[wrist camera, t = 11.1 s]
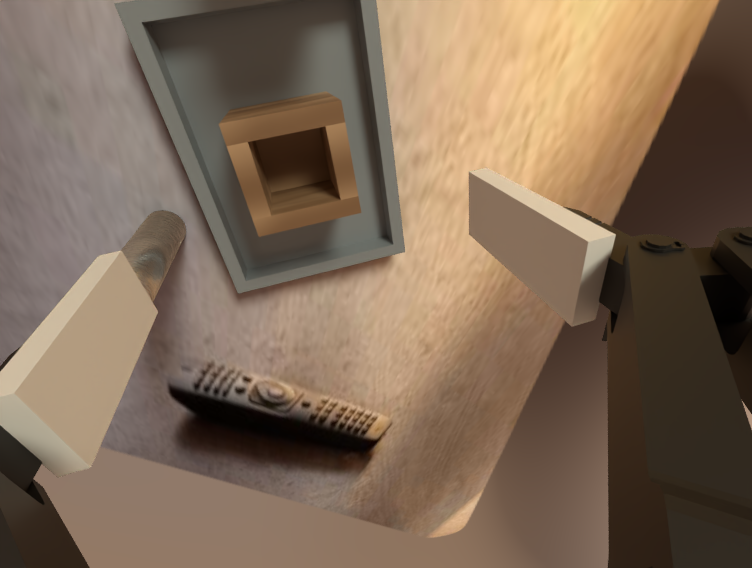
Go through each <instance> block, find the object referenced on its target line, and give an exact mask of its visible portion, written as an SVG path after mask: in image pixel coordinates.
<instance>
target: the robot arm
mask: <svg viewBox="0 0 752 568" xmlns="http://www.w3.org/2000/svg"><path fill="white" fill-rule="evenodd" d="M469 235H471V236H472V237H473V238H474V239H475V240H476V241H477V242H478V243H479V244H481V245H482V246H483V247H484V248H485V249H486V250H487V251H488V252H489V253H491V254H492V255H493V256H494V257H495V258H496V259H497V260H498V261H499V262H501V263H502V264H503V265H504V266H505V267H506V268H507V269H508V270H509V271H511V272H512V273H513V274H514V275H515V276H516V277H517V278H518V279H520V280H521V281H522V282H523V283H524V284H525V285H526V286H527V287H528V288H530V289H531V290H532V291H533V292H534V293H535V294H536V295H537V296H538V297H540V298H541V299H542V300H543V301H544V302H545V303H546V304H547V305H548V306H550V307H551V308H552V309H553V310H554V311H555V312H556V313H557V314H558V315H560V316H561V317H562V318H563V319H564V320H565V321H566V322H567V323H569V324H570V325H571V326H575V325H578V324H582V323H585V322H589V321H592V320H595V319H596V315H597V310H598V307H599V303H602V304H603V305H604V306H606V307H607V308H608V309H610V312H609V316H608V320H607V323H606V327H605V331H604V335H603V339H602V341H607V349H608V351H607V352H608V353H607V356H608V357H607V359H608V494H609V495H608V496H609V497H608V498H609V499H608V500H609V501H608V502H609V503H608V505H609V560H608V568H752V430H751V427H750V424H749V421H748V418H747V415H746V412H745V409H744V406H743V403H742V401H743V402H744V404H745V405H746V407H747V408H748V410H749V411H750V412H751V414H752V227H746V228H743V227H742V228H741V227H736V228H727V229H724V230H722V231H720V232H719V233H718V235H717V237H716V240H715V242H714V245H713V247H703V248H689V247H688V245H687V244H686V243H684V242H682V241H680V240H678V239H675V238H672V237H668V236H663V235H640V236H635V237H631V236H629V235H627V234H625V233H623V232H621V231H619V230H617V229H615V228H613V227H611V226H609V225H607V224H605V223H602V222H601V221H599V220H597V219H595V218H592V217H591V216H589V215H587V214H585V213H583V212H581V211H579V210H575V209H571V208H567V207H562V206H560V205H558V204H556V203H554V202H552V201H550V200H548V199H546V198H544V197H542V196H540V195H539V194H537V193H535V192H533V191H531V190H529V189H527V188H525V187H523V186H521V185H519V184H517V183H515V182H513V181H512V180H510V179H508V178H506V177H504V176H502V175H500V174H498V173H496V172H494V171H492V170H490V169H488V168H483V169H479V170H474V171H470V172H469ZM157 314H158V311H157V309H156V307H155V306H154V304H153V302H152V301H151V299H150V297H149V295H148V294H147V292H146V290H145V289H144V287H143V285H142V284H141V282H140V280H139V279H138V277H137V275H136V274H135V272H134V270H133V269H132V267H131V265H130V264H129V262H128V260H127V259H126V257H125V255H124V254H123V252H122V251H118V252H113V253H109V254H104V255H100V256H98V257H97V258H96V260H95V261H94V262H93V263H92V264H91V265H90V267H89V268H88V269H87V270H86V271H85V273H84V274H83V275H82V276H81V277H80V278H79V280H78V281H77V282H76V283H75V284H74V286H73V287H72V288H71V289H70V290H69V291H68V293H67V294H66V295H65V296H64V297H63V298H62V300H61V301H60V302H59V303H58V304H57V306H56V307H55V308H54V309H53V310H52V311H51V313H50V314H49V315H48V316H47V317H46V319H45V320H44V321H43V322H42V323H41V324H40V326H39V327H38V328H37V329H36V330H35V331H34V333H33V334H32V335H31V336H30V337H29V339H28V340H27V341H26V342H25V343H24V344H23V345H22V346H21V347H20V348H18V349H17V350H16V351H14V352H13V353H12V354H11V355H10V356H9V357H8V358H7V359H6V360H5V361H4V362H3V364H2V365H1V366H0V568H89V566H88V564H87V562H86V561H85V559H84V557H83V556H82V554H81V552H80V550H79V549H78V547H77V545H76V544H75V542H74V540H73V538H72V536H71V535H70V533H69V531H68V530H67V528H66V526H65V524H64V523H63V521H62V519H61V518H60V516H59V514H58V512H57V511H56V509H55V507H54V505H53V504H52V502H51V500H50V498H49V497H48V495H47V493H46V492H45V490H44V488H43V487H42V486H41V485H40V484H38V483H37V482H36V481H35V480H34V479H33V478H34V476H35V474H36V473H37V471H38V469H39V467H40V466H41V464H43V465H44V466H45V467H46V468H47V469H48V470H50V471H51V472H52V473H53V474H54V475H55V476H56V477H61V476H64V475H67V474H71V473H74V472H77V471H81V470H85V469H88V468H91V466H92V464H93V461H94V459H95V457H96V455H97V452H98V450H99V448H100V446H101V443H102V441H103V439H104V436H105V434H106V432H107V429H108V427H109V425H110V422H111V420H112V418H113V415H114V413H115V411H116V408H117V406H118V404H119V402H120V399H121V397H122V395H123V392H124V390H125V388H126V385H127V383H128V381H129V378H130V376H131V374H132V371H133V369H134V367H135V365H136V362H137V360H138V358H139V355H140V353H141V351H142V348H143V346H144V344H145V341H146V339H147V337H148V334H149V332H150V330H151V327H152V325H153V323H154V321H155V318H156V316H157ZM741 399H742V400H741Z"/></svg>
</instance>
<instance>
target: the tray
mask: <svg viewBox="0 0 752 568" xmlns="http://www.w3.org/2000/svg"><path fill="white" fill-rule="evenodd" d="M115 7H116V9H117V11H118V14H119V16H120V18H121V21H122V23H123V25H124V28H125V30H126V32H127V35H128V37H129V39H130V42H131V44H132V46H133V49H134V51H135V53H136V56H137V58H138V60H139V63H140V65H141V67H142V70H143V72H144V74H145V77H146V79H147V81H148V84H149V86H150V88H151V91H152V93H153V95H154V98H155V100H156V103H157V105H158V107H159V110H160V112H161V114H162V117H163V119H164V121H165V124H166V126H167V128H168V131H169V133H170V135H171V138H172V140H173V142H174V145H175V147H176V149H177V152H178V154H179V156H180V159H181V161H182V163H183V166H184V168H185V170H186V173H187V175H188V177H189V180H190V182H191V184H192V187H193V189H194V191H195V194H196V196H197V198H198V201H199V203H200V206H201V208H202V210H203V213H204V215H205V217H206V220H207V222H208V224H209V227H210V229H211V231H212V234H213V236H214V238H215V241H216V243H217V245H218V248H219V250H220V252H221V255H222V257H223V259H224V262H225V264H226V266H227V269H228V271H229V273H230V276H231V278H232V280H233V283H234V285H235V287H236V290H237V292H238V294H239V293H243V292H247V291H251V290H255V289H259V288H263V287H267V286H271V285H275V284H279V283H283V282H287V281H291V280H295V279H299V278H303V277H307V276H311V275H315V274H319V273H323V272H327V271H331V270H335V269H339V268H343V267H347V266H351V265H355V264H359V263H363V262H367V261H371V260H375V259H379V258H383V257H387V256H391V255H395V254H399V253H403V252H405V246H404V238H403V229H402V220H401V212H400V203H399V194H398V186H397V177H396V168H395V160H394V151H393V142H392V134H391V125H390V117H389V108H388V99H387V91H386V82H385V73H384V65H383V56H382V47H381V39H380V30H379V21H378V13H377V4H376V0H135V1H129V2H122V3H115ZM325 91H326V92H328V93H330V94H332V95H333V96H335V97H337V98H338V99H340V100H341V101H342V107H343V112H344V118H345V124H346V129H347V135H348V140H349V146H350V152H351V157H352V163H353V168H354V174H355V180H356V185H357V191H358V196H359V202H360V207H361V213H359V214H355V215H350V216H346V217H342V218H338V219H333V220H329V221H325V222H321V223H316V224H312V225H308V226H303V227H299V228H295V229H291V230H286V231H282V232H278V233H274V234H269V235H265V236H261V237H259V236H258V233H257V230H256V228H255V225H254V222H253V219H252V216H251V214H250V211H249V208H248V205H247V202H246V199H245V197H244V194H243V191H242V188H241V185H240V183H239V180H238V177H237V174H236V171H235V169H234V166H233V163H232V160H231V157H230V154H229V152H228V149H227V146H226V143H225V140H224V138H223V135H222V132H221V129H220V126H219V123H220V122H221V121H222V119H223V118H224V117H225V115H226V114H227V113H228V112H229V110H231V109H236V108H241V107H246V106H252V105H257V104H262V103H267V102H273V101H278V100H283V99H288V98H294V97H299V96H304V95H310V94H315V93H320V92H325Z"/></svg>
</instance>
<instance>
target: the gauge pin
mask: <svg viewBox="0 0 752 568" xmlns="http://www.w3.org/2000/svg"><path fill="white" fill-rule="evenodd" d="M185 235H186V226H185V224H184V222H183V220H182V219H181V218H180V217H179V216H177V215H176V214H174V213H172V212H169V211H163V210H161V211H155V212H153V213H151V214H150V215H149V216H148V217H147V218H146V219H145V221H144V222H143V223H142V224H141V226H140V227H139V228H138V230H137V231H136V232H135V233H134V235H133V236H132V237H131V238H130V240H129V241H128V242H127V244H126V245H125V246H124V247H123V249H122V250H121V251H122V252H123V254H124V255H125V257H126V259H127V260H128V262H129V264H130V265H131V267H132V269H133V270H134V272H135V274H136V275H137V277H138V279H139V280H140V282H141V284H142V285H143V287H144V289H145V290H146V292H147V294H148V295H149V297H150V299H151V301H152V302H153V301H154V299H155V297H156V295H157V293H158V291H159V289H160V287H161V285H162V282H163V280H164V278H165V276H166V274H167V272H168V270H169V268H170V266H171V264H172V262H173V260H174V258H175V256H176V254H177V251H178V249H179V247H180V245H181V243H182V241H183V239H184V237H185Z"/></svg>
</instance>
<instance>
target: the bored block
mask: <svg viewBox="0 0 752 568" xmlns="http://www.w3.org/2000/svg"><path fill="white" fill-rule="evenodd" d="M219 126H220V129H221V132H222V135H223V138H224V140H225V143H226V146H227V149H228V152H229V154H230V157H231V160H232V163H233V166H234V169H235V171H236V174H237V177H238V180H239V183H240V185H241V188H242V191H243V194H244V197H245V199H246V202H247V205H248V208H249V211H250V214H251V216H252V219H253V222H254V225H255V228H256V230H257V233H258V236H259V237H261V236H265V235H269V234H274V233H278V232H282V231H286V230H291V229H295V228H299V227H303V226H308V225H312V224H316V223H321V222H325V221H329V220H333V219H338V218H342V217H346V216H350V215H355V214H359V213H361V207H360V202H359V196H358V191H357V185H356V180H355V174H354V168H353V163H352V157H351V152H350V146H349V140H348V135H347V129H346V124H345V118H344V112H343V107H342V101H341V100H340V99H338V98H337V97H335V96H333V95H332V94H330V93H328V92H326V91H325V92H320V93H315V94H310V95H304V96H299V97H294V98H288V99H283V100H278V101H273V102H267V103H262V104H257V105H252V106H246V107H241V108H236V109H231V110H229V112H228V113H227V114H226V115H225V117H224V118H223V119H222V121H221V122H220V123H219Z"/></svg>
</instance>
